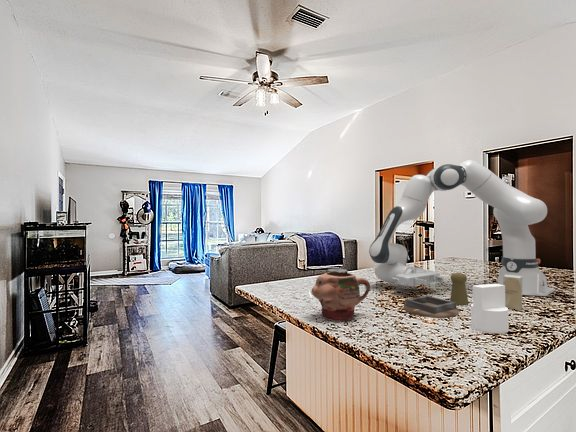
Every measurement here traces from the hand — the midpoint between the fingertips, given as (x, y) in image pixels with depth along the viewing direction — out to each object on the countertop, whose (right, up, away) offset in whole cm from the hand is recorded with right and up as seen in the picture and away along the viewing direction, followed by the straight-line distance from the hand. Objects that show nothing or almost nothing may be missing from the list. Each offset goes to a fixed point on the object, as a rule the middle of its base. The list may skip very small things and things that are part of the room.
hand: (435, 281), depth 126 cm
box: (+20, -6, -15) cm, 26 cm away
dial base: (-9, -6, -17) cm, 20 cm away
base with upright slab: (0, -6, -34) cm, 35 cm away
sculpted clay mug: (-40, -7, -22) cm, 47 cm away
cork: (+5, -7, -9) cm, 12 cm away
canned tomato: (-38, -7, +2) cm, 38 cm away
